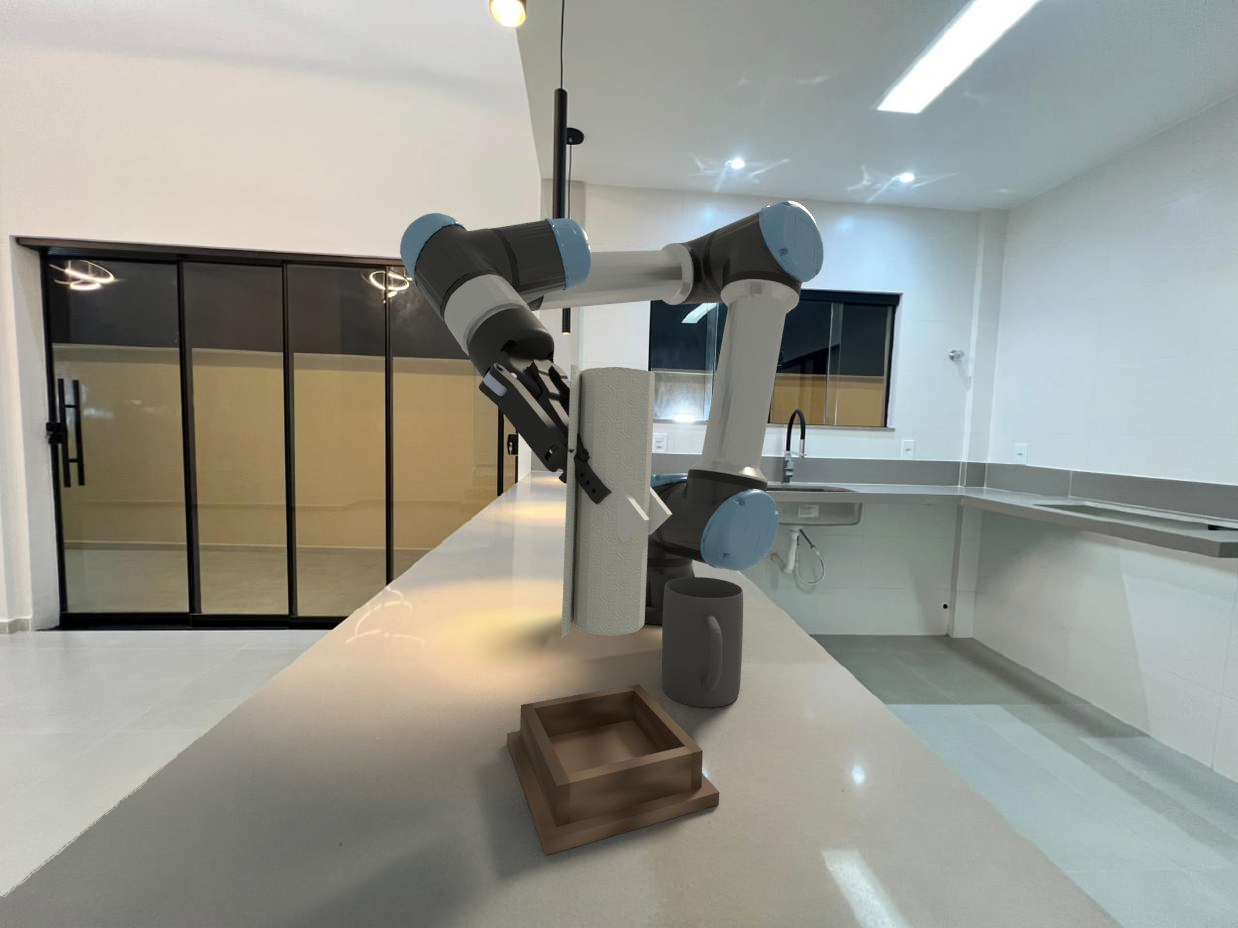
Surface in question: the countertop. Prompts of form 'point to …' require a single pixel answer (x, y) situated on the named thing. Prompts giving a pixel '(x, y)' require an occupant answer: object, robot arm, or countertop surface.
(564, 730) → the wooden tray
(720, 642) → the mug
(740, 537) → the robot arm
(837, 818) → the countertop surface
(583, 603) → the paper towel roll
